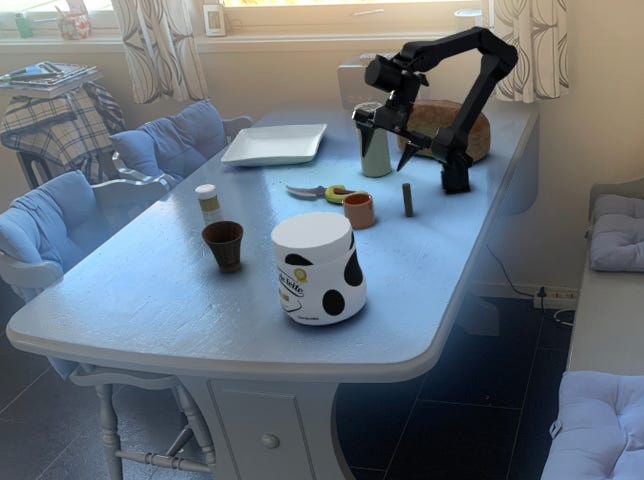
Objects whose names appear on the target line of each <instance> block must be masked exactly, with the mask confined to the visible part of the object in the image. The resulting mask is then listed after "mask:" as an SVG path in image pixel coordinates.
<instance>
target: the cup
mask: <svg viewBox="0 0 644 480" xmlns="http://www.w3.org/2000/svg"><path fill="white" fill-rule="evenodd" d="M244 233H245V232H244V227H243V226H242V224H241V223H239V222H236V221H233V220H224V221H219V222H215V223H212V224H210V225H208V226H207V227H206V226H205V227H204V228H203V229H202V231H201V237H202V240H203V241H204V242H205V243H206V245H207V246H208V247H209V249H210V252H211V254H212V255H213V257H214V260H215V261H216V263H217V267H218V269H219V271H221V272H223V273H227V274H228V273H235V272H237V271H239V270H240V269H241V267H242V262H241V246H242V240H243V237H244Z"/></svg>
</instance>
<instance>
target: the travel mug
mask: <svg viewBox="0 0 644 480" xmlns="http://www.w3.org/2000/svg"><path fill="white" fill-rule="evenodd" d="M381 106H384V105H383V104H382V103H380V102H376V101H367V102H362V103H359V104H357V105H355V106H354V108H353V111H355V110H356V109H358V108H359V109H362V110H365V111H367V112H370V113H372V114H375V110H376V109H377V108H379V107H381ZM356 123H358V121H356V120H354V124H355V131H356V138H357V144H358V152H359V158H360V165H361V172H362V174H363V175H364V176H366V177H371V178H379V177H383V176H386V175H388V174H389V173H390V172H391V171H392V164H391V156H390V148H389V138H388V131H387V130H384V129H382V128H379V127H377V126H375V125H373V126H372V128H374V129H375V132H374V135H373V137H372V140H371V143H370V146H369V149H368V152H367V154H366V156H365V158H363V157H362V137H361V131H360V128H359V126H358V125H356Z"/></svg>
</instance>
